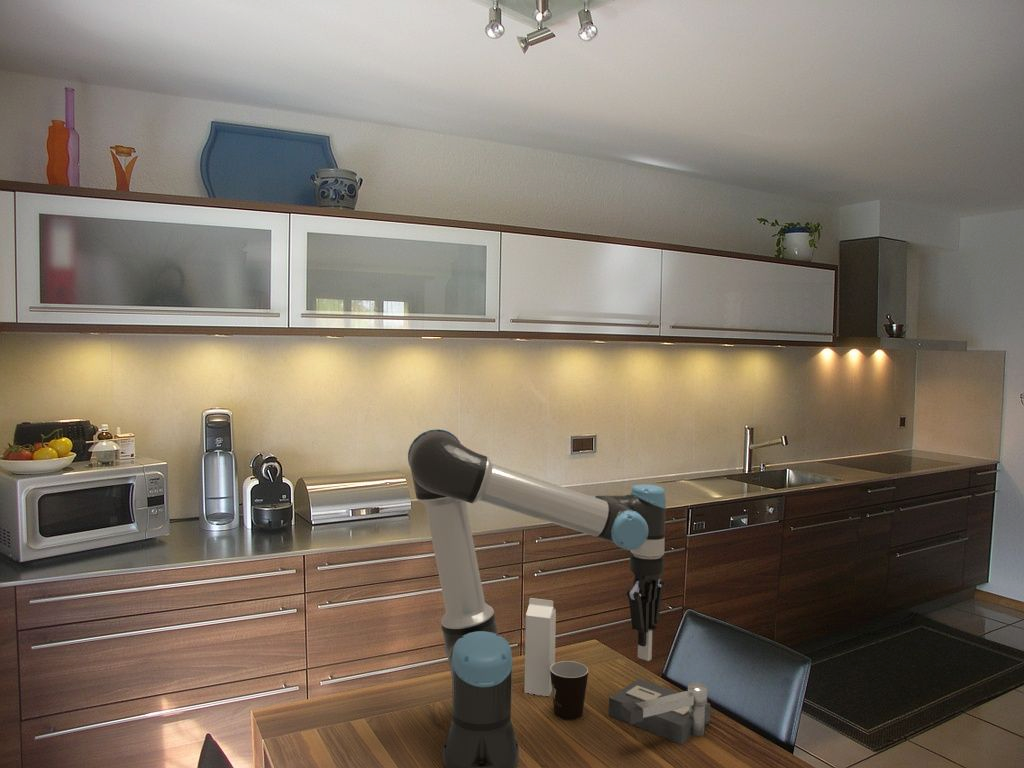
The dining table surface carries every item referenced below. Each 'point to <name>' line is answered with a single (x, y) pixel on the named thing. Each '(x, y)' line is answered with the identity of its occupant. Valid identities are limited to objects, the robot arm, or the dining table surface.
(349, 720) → the dining table surface
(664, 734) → the grey slotted block
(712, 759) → the dining table surface
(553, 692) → the coffee mug
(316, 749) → the dining table surface
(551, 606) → the milk
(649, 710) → the lever
